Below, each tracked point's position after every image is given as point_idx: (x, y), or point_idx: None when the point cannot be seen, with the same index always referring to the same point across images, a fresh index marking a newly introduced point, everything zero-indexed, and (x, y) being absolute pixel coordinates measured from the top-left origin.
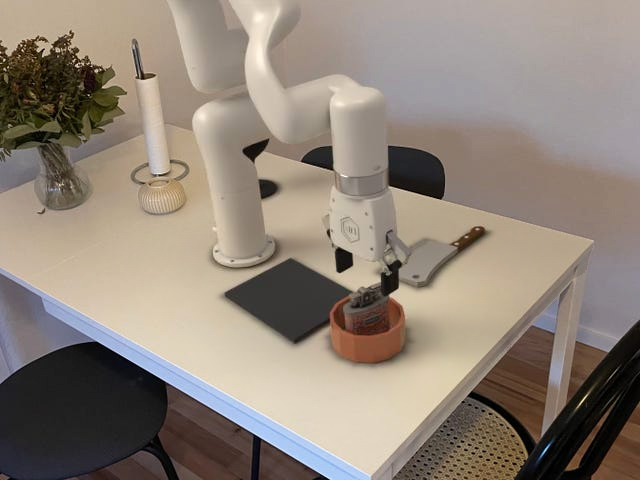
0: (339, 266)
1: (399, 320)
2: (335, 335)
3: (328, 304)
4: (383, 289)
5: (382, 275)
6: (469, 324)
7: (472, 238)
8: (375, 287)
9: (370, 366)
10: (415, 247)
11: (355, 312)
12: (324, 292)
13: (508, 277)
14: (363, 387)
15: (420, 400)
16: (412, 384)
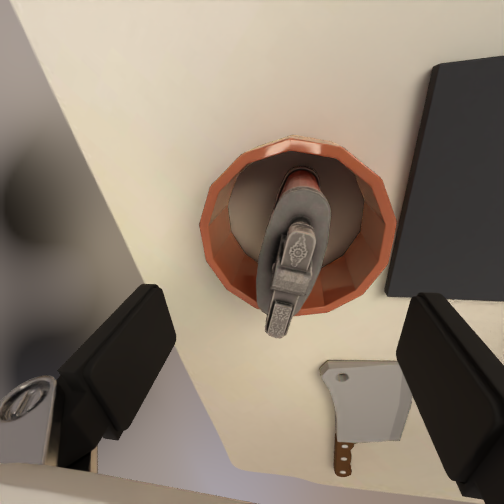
0: (433, 321)
1: (221, 272)
2: (315, 140)
3: (445, 236)
4: (124, 302)
5: (69, 364)
6: (209, 334)
7: (335, 458)
8: (273, 312)
9: (226, 161)
10: (400, 424)
11: (275, 208)
12: (487, 261)
13: (248, 415)
14: (185, 102)
15: (108, 165)
16: (146, 184)
